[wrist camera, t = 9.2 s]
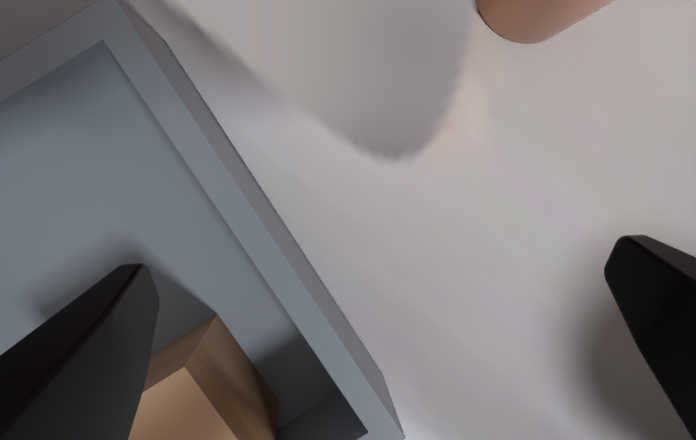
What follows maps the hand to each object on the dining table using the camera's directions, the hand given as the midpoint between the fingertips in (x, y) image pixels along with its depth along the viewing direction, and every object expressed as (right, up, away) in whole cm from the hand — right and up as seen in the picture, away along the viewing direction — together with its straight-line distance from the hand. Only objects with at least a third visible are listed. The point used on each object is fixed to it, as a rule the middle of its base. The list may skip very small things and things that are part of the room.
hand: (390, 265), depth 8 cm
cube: (-7, -7, +11) cm, 15 cm away
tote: (-10, -3, +11) cm, 15 cm away
